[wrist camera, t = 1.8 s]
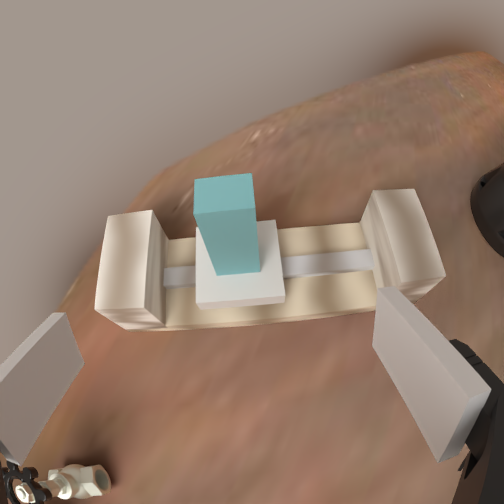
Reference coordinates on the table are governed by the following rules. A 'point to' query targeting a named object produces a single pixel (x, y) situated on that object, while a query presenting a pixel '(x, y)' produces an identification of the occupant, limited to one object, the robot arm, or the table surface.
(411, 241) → the rail board
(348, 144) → the table surface
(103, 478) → the valve
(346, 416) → the table surface
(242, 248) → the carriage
